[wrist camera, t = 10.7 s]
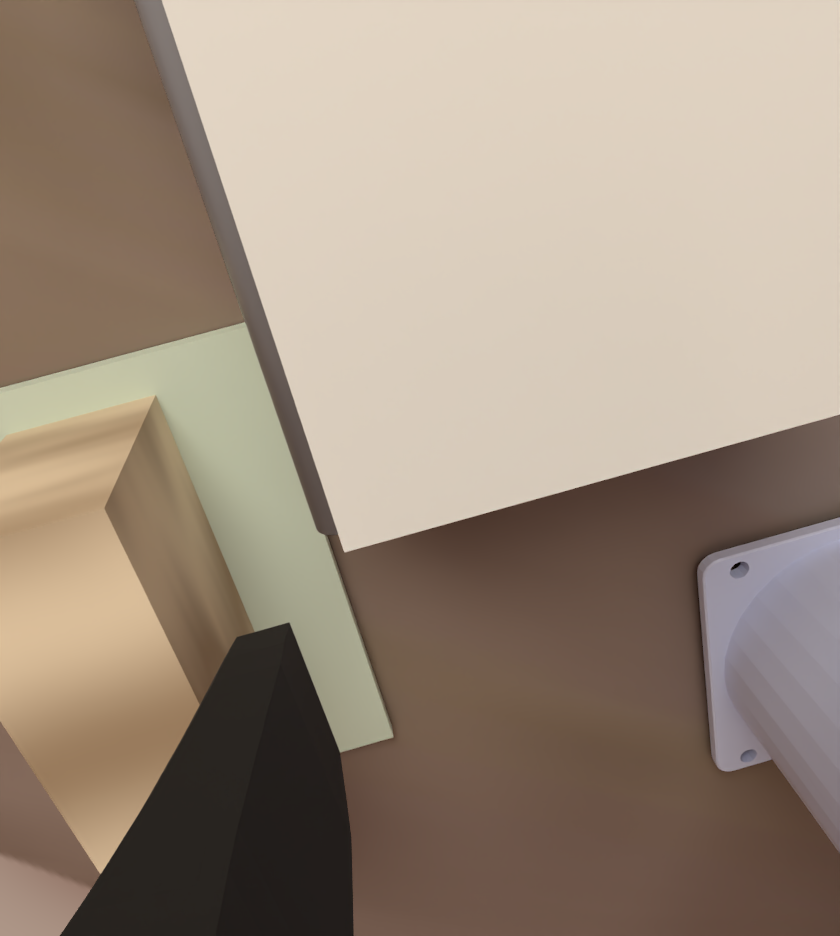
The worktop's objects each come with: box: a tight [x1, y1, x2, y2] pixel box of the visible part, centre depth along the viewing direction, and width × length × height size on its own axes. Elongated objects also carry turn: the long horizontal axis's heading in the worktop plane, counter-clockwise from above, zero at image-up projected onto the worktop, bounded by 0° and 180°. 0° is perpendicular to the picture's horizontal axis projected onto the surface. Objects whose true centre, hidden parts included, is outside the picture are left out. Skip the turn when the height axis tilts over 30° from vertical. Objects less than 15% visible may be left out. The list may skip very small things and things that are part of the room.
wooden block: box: [0, 395, 255, 874], centre depth 16 cm, size 10×3×5 cm, turn 13°
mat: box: [0, 322, 393, 752], centre depth 19 cm, size 8×12×1 cm, turn 13°
